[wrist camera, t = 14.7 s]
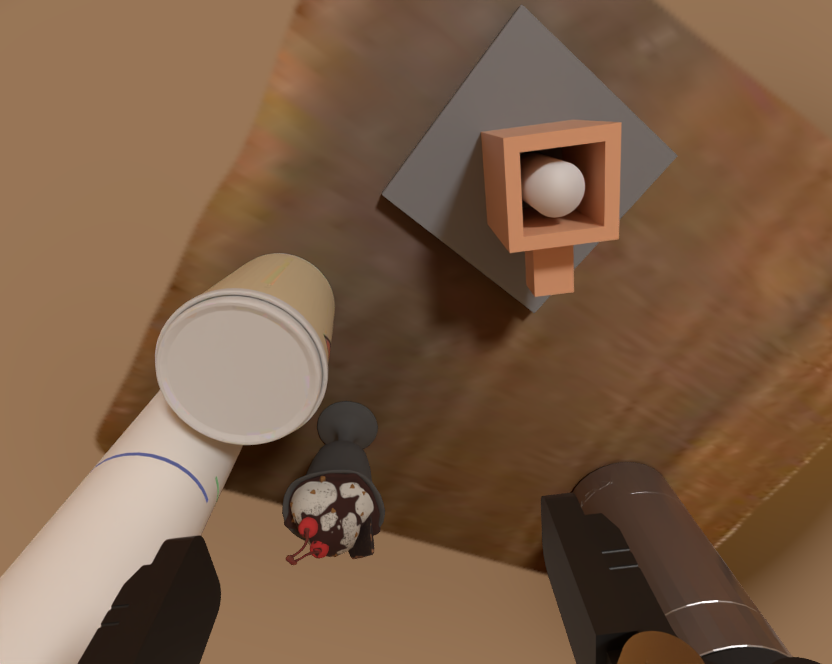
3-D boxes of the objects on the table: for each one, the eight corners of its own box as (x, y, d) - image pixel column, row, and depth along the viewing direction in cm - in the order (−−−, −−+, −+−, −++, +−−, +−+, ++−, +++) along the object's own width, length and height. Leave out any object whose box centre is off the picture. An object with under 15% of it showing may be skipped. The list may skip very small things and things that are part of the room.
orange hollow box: (573, 119, 34) (621, 122, 27) (574, 263, 38) (617, 300, 31) (480, 131, 34) (503, 138, 27) (491, 274, 38) (513, 313, 31)
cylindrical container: (237, 345, 41) (30, 649, 18) (274, 421, 44) (135, 770, 21) (152, 371, 42) (-153, 696, 19) (194, 444, 44) (-28, 808, 21)
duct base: (669, 154, 36) (739, 166, 29) (530, 307, 41) (560, 353, 33) (517, 7, 33) (553, -23, 25) (382, 192, 37) (377, 213, 29)
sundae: (296, 400, 43) (247, 538, 29) (377, 384, 43) (367, 517, 29) (317, 466, 46) (282, 622, 32) (395, 452, 45) (393, 603, 31)
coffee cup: (289, 381, 42) (250, 478, 31) (193, 302, 40) (113, 377, 29) (372, 303, 40) (361, 377, 29) (275, 213, 37) (223, 257, 26)
